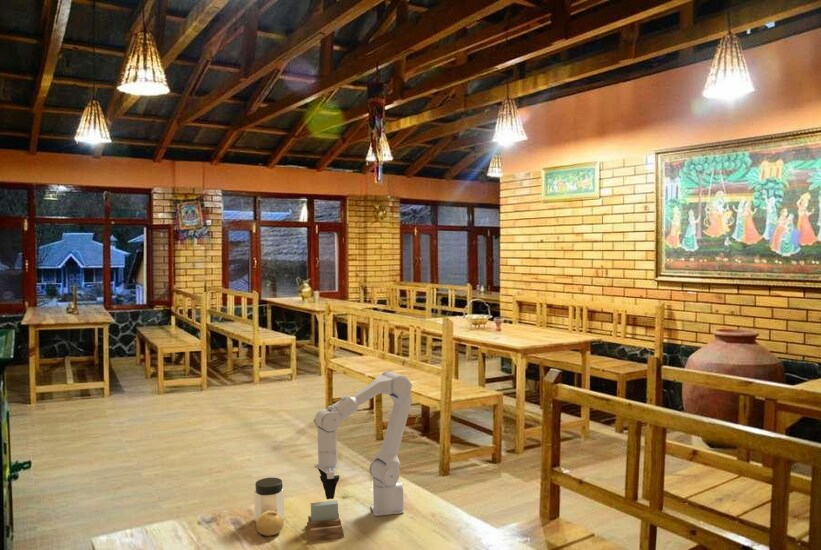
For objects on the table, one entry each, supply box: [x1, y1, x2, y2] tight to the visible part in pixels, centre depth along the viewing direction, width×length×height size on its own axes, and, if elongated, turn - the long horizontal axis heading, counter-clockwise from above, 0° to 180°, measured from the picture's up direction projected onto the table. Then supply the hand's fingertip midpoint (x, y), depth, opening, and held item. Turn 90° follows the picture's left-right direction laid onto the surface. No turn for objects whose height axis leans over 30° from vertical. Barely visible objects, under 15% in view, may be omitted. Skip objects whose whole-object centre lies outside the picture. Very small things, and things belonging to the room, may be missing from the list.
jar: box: [253, 477, 285, 522], centre depth 201 cm, size 9×8×12 cm
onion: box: [255, 509, 285, 537], centre depth 192 cm, size 8×8×7 cm
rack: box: [306, 512, 345, 542], centre depth 193 cm, size 10×10×3 cm
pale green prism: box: [310, 500, 339, 522], centre depth 195 cm, size 8×2×6 cm, turn 103°
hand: (328, 493), depth 196 cm, fingers open, 7 cm apart
